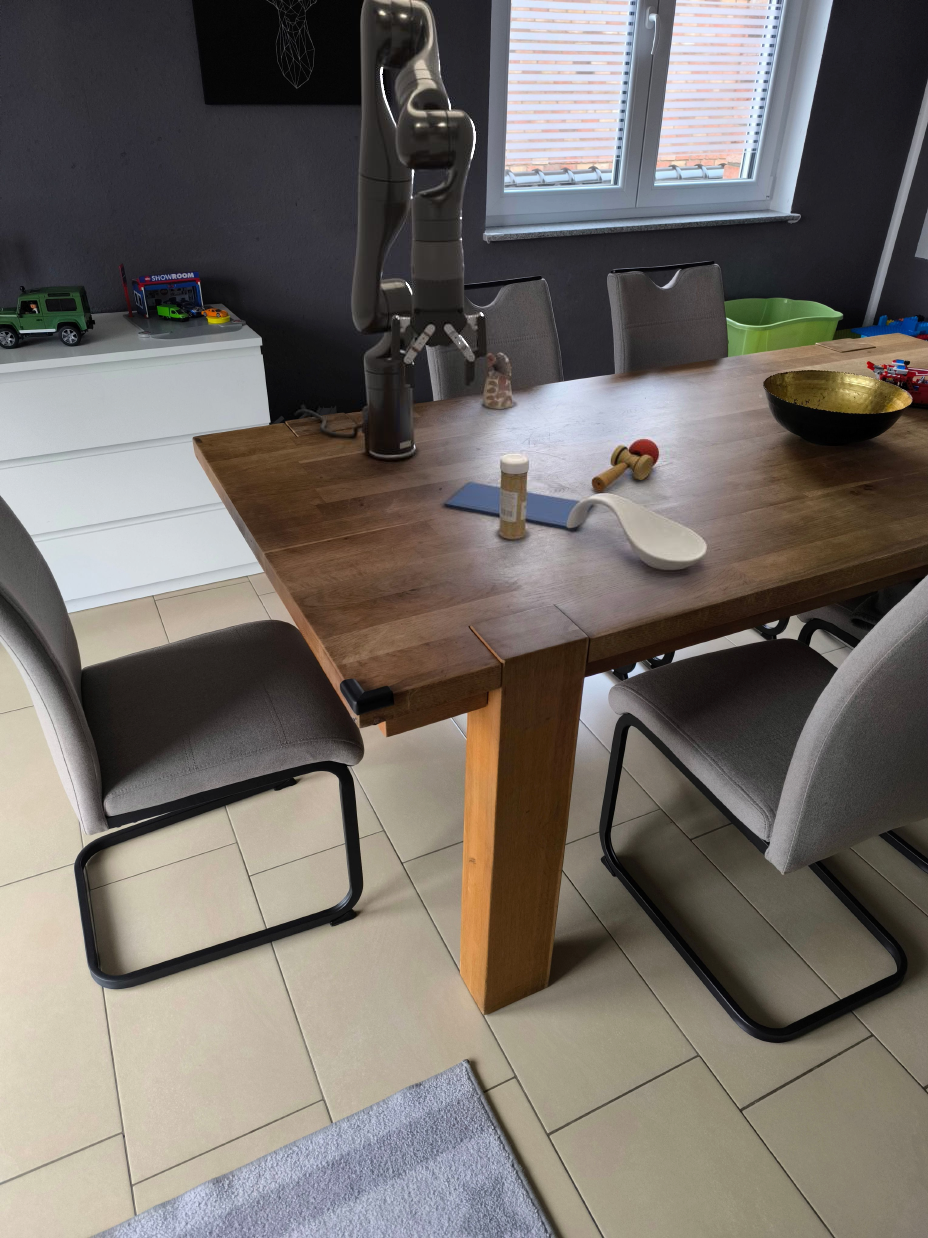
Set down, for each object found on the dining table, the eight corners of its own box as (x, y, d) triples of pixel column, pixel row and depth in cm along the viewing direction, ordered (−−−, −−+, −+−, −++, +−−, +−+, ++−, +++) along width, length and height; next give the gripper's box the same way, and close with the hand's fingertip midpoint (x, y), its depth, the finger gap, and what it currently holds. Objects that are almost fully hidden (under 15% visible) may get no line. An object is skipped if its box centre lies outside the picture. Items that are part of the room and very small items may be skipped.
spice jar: (531, 536, 138) (535, 459, 131) (509, 542, 136) (511, 465, 129) (514, 525, 141) (517, 450, 134) (492, 532, 139) (494, 456, 132)
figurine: (513, 409, 194) (515, 356, 188) (483, 408, 194) (483, 356, 188) (512, 399, 200) (514, 348, 194) (482, 399, 200) (483, 348, 194)
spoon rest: (716, 561, 131) (725, 520, 127) (678, 589, 123) (686, 546, 119) (592, 514, 144) (596, 475, 140) (551, 537, 136) (554, 496, 132)
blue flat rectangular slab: (444, 506, 148) (444, 503, 148) (469, 484, 157) (469, 481, 156) (573, 530, 140) (574, 527, 140) (592, 505, 148) (593, 502, 148)
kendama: (619, 504, 152) (671, 464, 162) (614, 472, 149) (667, 433, 158) (584, 499, 157) (637, 461, 167) (579, 468, 154) (633, 431, 164)
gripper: (483, 267, 123) (482, 377, 132) (386, 269, 122) (392, 380, 130) (490, 276, 117) (488, 391, 125) (388, 278, 115) (394, 394, 124)
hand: (439, 385), depth 128 cm, fingers open, 8 cm apart
